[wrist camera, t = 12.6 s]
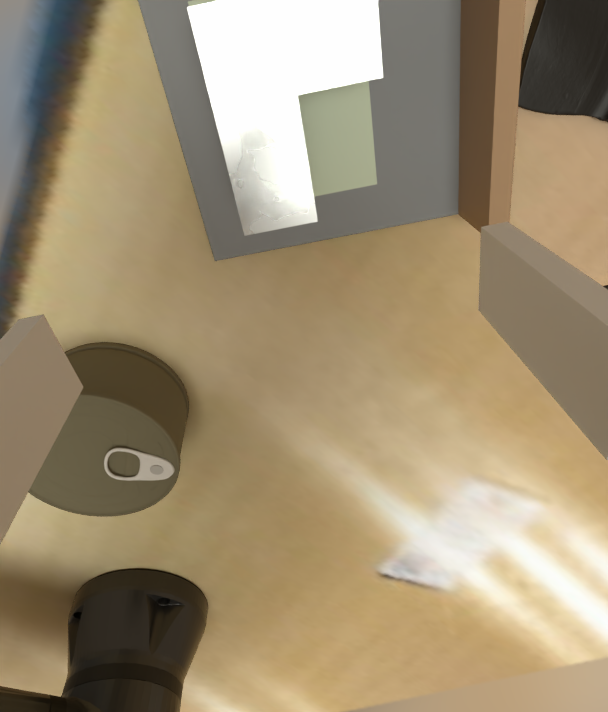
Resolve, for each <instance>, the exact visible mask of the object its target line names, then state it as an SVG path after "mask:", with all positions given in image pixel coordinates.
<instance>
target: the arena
mask: <svg viewBox="0 0 608 712" xmlns="http://www.w3.org/2000/svg"><path fill="white" fill-rule="evenodd" d="M213 1H218V0H138V2H139V5H140V9H141V12H142V16H143V19H144V22H145V26H146V29H147V33H148V36H149V39H150V43H151V46H152V49H153V53H154V56H155V60H156V63H157V66H158V70H159V73H160V77H161V80H162V83H163V87H164V90H165V94H166V97H167V100H168V104H169V107H170V110H171V114H172V117H173V121H174V124H175V127H176V131H177V134H178V138H179V141H180V144H181V148H182V151H183V155H184V158H185V161H186V165H187V168H188V171H189V175H190V178H191V182H192V185H193V188H194V192H195V195H196V199H197V202H198V205H199V209H200V212H201V216H202V219H203V222H204V226H205V229H206V232H207V236H208V239H209V243H210V246H211V249H212V253H213V256H214V260H215V261H218V260H223V259H228V258H233V257H238V256H244V255H249V254H254V253H259V252H264V251H269V250H275V249H280V248H285V247H290V246H295V245H300V244H306V243H311V242H316V241H321V240H326V239H332V238H337V237H342V236H347V235H352V234H357V233H363V232H368V231H373V230H378V229H383V228H388V227H394V226H399V225H404V224H409V223H414V222H420V221H425V220H430V219H435V218H440V217H445V216H451V215H456V214H459V215H460V216H461V217H462V218H464V219H465V220H466V221H467V222H468V223H470V224H471V225H472V226H473V227H474V228H475V229H477V230H478V231H479V232H480V233H481V227H483V226H488V225H493V224H498V223H503V222H509V221H510V208H511V194H512V181H513V167H514V154H515V140H516V126H517V113H518V99H519V86H520V72H521V58H522V45H523V31H524V18H525V4H526V0H378V11H379V25H380V40H381V55H382V69H383V78H379V79H374V80H369V81H364V82H359V83H354V84H350V85H345V86H340V87H335V88H330V89H325V90H320V91H316V92H311V93H306V94H301V95H298V100H299V106H300V113H301V119H302V125H303V132H304V138H305V144H306V150H307V157H308V163H309V169H310V176H311V182H312V188H313V194H314V201H315V207H316V213H317V220H318V222H313V223H308V224H303V225H297V226H292V227H287V228H282V229H277V230H272V231H267V232H262V233H257V234H252V235H246V236H244V232H243V228H242V224H241V220H240V216H239V212H238V208H237V204H236V200H235V196H234V192H233V188H232V184H231V180H230V176H229V173H228V169H227V165H226V161H225V157H224V153H223V149H222V145H221V141H220V137H219V133H218V129H217V125H216V121H215V117H214V113H213V109H212V105H211V101H210V97H209V93H208V89H207V85H206V81H205V77H204V73H203V69H202V65H201V61H200V57H199V53H198V49H197V45H196V41H195V37H194V33H193V29H192V25H191V21H190V17H189V13H188V9H187V7H190V6H195V5H199V4H204V3H209V2H213Z"/></svg>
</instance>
